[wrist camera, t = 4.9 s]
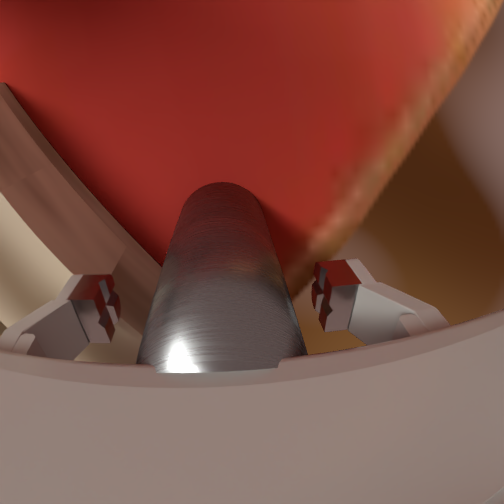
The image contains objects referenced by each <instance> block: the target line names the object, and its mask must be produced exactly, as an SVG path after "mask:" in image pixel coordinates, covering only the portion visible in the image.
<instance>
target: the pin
mask: <svg viewBox="0 0 504 504" xmlns="http://www.w3.org/2000/svg"><path fill="white" fill-rule="evenodd" d="M304 355H308V354H307V350H306V347H305V344H304V340H303V337H302V334H301V330H300V327H299V324H298V321H297V318H296V314H295V311H294V308H293V304H292V301H291V298H290V295H289V292H288V289H287V285H286V282H285V279H284V276H283V273H282V270H281V267H280V263H279V260H278V257H277V254H276V251H275V248H274V245H273V242H272V239H271V236H270V233H269V230H268V227H267V224H266V220H265V217H264V214H263V211H262V208H261V206H260V204H259V202H258V201H257V199H256V198H255V197H254V196H253V194H251V193H250V192H249V191H248V190H246V189H245V188H243V187H241V186H239V185H236V184H233V183H227V182H218V183H212V184H208V185H205V186H203V187H201V188H199V189H198V190H196V191H195V192H194V193H193V194H191V195H190V197H189V198H188V199H187V201H186V202H185V204H184V206H183V208H182V211H181V214H180V216H179V219H178V222H177V225H176V228H175V231H174V234H173V236H172V239H171V242H170V245H169V248H168V251H167V254H166V258H165V261H164V264H163V267H162V270H161V273H160V276H159V280H158V283H157V286H156V290H155V293H154V296H153V300H152V303H151V307H150V310H149V314H148V317H147V321H146V325H145V328H144V332H143V336H142V340H141V344H140V348H139V352H138V356H137V360H136V364H149V365H152V366H154V367H155V370H156V373H202V372H229V371H245V370H259V369H270V368H278V365H279V362H280V361H281V360H282V359H284V358H288V357H297V356H304Z"/></svg>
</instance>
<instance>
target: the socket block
mask: <svg viewBox="0 0 504 504" xmlns="http://www.w3.org/2000/svg"><path fill="white" fill-rule="evenodd" d="M161 270H162V267H161V266H160V265H159V264H158V263H157V262H156V261H155V260H154V259H153V258H152V257H151V256H150V255H149V254H148V253H147V252H146V251H145V250H144V249H143V248H142V247H141V246H140V245H139V244H138V243H137V242H136V241H135V240H134V239H133V238H132V237H131V236H130V234H129V233H128V232H127V231H126V230H125V229H124V228H123V227H122V226H121V225H120V224H119V223H118V222H117V221H116V220H115V219H114V217H113V216H112V215H111V214H110V213H109V212H108V211H107V210H106V209H105V208H104V207H103V206H102V204H101V203H100V202H99V201H98V200H97V199H96V198H95V197H94V195H93V194H92V193H91V192H90V191H89V190H88V189H87V188H86V186H85V185H84V184H83V183H82V182H81V181H80V180H79V178H78V177H77V176H76V175H75V174H74V172H73V171H72V170H71V169H70V168H69V167H68V165H67V164H66V163H65V162H64V161H63V159H62V158H61V157H60V156H59V155H58V153H57V152H56V151H55V150H54V148H53V147H52V146H51V145H50V143H49V142H48V141H47V140H46V138H45V137H44V136H43V134H42V133H41V132H40V131H39V129H38V128H37V127H36V125H35V124H34V123H33V121H32V120H31V119H30V118H29V116H28V115H27V113H26V112H25V111H24V109H23V108H22V107H21V105H20V104H19V103H18V101H17V100H16V98H15V97H14V96H13V94H12V93H11V91H10V90H9V88H8V87H7V85H6V84H5V83H4V82H3V83H0V337H1V335H2V334H3V332H4V331H5V330H6V329H7V328H9V327H10V326H12V325H13V324H15V323H16V322H18V321H19V320H21V319H22V318H24V317H25V316H27V315H29V314H30V313H32V312H33V311H35V310H36V309H38V308H40V307H41V306H43V305H44V304H46V303H48V302H49V301H51V300H55V299H56V298H57V296H58V295H59V293H60V292H61V290H62V289H63V287H64V286H65V284H66V283H67V281H68V280H69V279H70V277H71V276H72V275H76V274H111V275H112V276H113V279H114V282H115V286H114V288H113V291H114V292H115V293H117V294H118V296H119V299H120V304H121V315H120V318H119V321H118V322H117V323H116V324H114V327H115V332H114V335H113V338H112V341H111V343H89V345H88V346H87V347H86V348H85V349H84V350H83V351H82V352H81V353H80V354H79V355H78V356H77V357H76V358H75V359H74V361H86V362H99V363H117V364H136V360H137V356H138V352H139V348H140V344H141V340H142V336H143V332H144V328H145V325H146V321H147V317H148V314H149V310H150V307H151V303H152V300H153V296H154V293H155V290H156V286H157V283H158V280H159V276H160V273H161Z"/></svg>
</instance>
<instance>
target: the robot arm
mask: <svg viewBox="0 0 504 504" xmlns="http://www.w3.org/2000/svg"><path fill="white" fill-rule="evenodd" d="M314 276H315V278H316V281H315V282H314V283H313V284H312V303H313V306H314V309H315V311H317V312H319V313H320V314H319V321H320V323H321V325H322V328H323V330H324V332H331V331H338V330H347V329H348V331H349V332H351V333H352V334H353V335H355V336H356V337H357V338H358V339H360V340H361V341H362V342H364V343H365V344H366V345H367V346H362V347H356V348H351V349H345V350H339V351H333V352H327V353H319V354H312V355H304V356H297V357H288V358H284V359H282V360H281V361H280V362H279V365H278V368H270V369H259V370H245V371H229V372H202V373H156V370H155V367H154V366H152V365H149V364H117V363H99V362H86V361H74V359H75V358H76V357H77V356H78V355H79V354H80V353H81V352H82V351H83V350H84V349H85V348H86V347H87V346H88V345H89V343H111V341H112V338H113V335H114V332H115V327H114V324H116V323H117V322H118V321H119V318H120V315H121V304H120V299H119V296H118V294H117V293H115V292H114V291H113V288H114V286H115V282H114V279H113V276H112V275H111V274H76V275H72V276H71V277H70V279H69V280H68V281H67V283H66V284H65V286H64V287H63V289H62V290H61V292H60V293H59V295H58V296H57V298H56V299H55V300H51V301H49V302H48V303H46V304H44V305H43V306H41V307H40V308H38V309H36V310H35V311H33V312H32V313H30V314H29V315H27V316H25V317H24V318H22V319H21V320H19V321H18V322H16V323H15V324H13V325H12V326H10V327H9V328H7V329H6V330H5V331H4V332H3V334H2V335H1V337H0V504H504V309H502V310H499V311H496V312H493V313H491V314H487V315H485V316H481V317H479V318H475V319H472V320H469V321H466V322H462V323H459V324H455V325H452V326H450V324H449V323H448V322H447V320H446V319H445V318H444V317H443V315H442V314H441V313H440V312H439V311H438V309H437V308H436V307H433V306H431V305H429V304H427V303H425V302H423V301H421V300H419V299H417V298H414V297H412V296H410V295H408V294H406V293H404V292H401V291H399V290H397V289H395V288H392V287H390V286H388V285H386V284H384V283H382V282H376V281H375V279H374V278H373V277H372V275H371V274H370V273H369V272H368V270H367V269H366V268H365V267H364V265H363V264H362V263H361V262H360V261H359V259H357V258H354V259H345V260H334V261H324V262H316V263H315V266H314Z"/></svg>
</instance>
